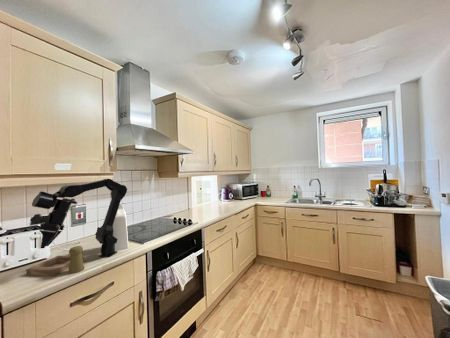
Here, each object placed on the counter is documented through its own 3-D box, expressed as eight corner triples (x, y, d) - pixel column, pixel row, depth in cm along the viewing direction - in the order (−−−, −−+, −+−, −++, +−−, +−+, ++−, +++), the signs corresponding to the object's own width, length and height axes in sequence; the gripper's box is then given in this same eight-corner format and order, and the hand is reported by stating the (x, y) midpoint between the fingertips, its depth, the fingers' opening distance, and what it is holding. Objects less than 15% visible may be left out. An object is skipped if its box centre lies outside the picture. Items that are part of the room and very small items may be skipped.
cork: (87, 267, 96) (86, 244, 96) (78, 273, 90) (77, 248, 90) (74, 267, 96) (74, 244, 96) (64, 274, 89) (64, 249, 90)
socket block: (58, 260, 105) (58, 255, 105) (83, 261, 103) (83, 256, 103) (26, 274, 90) (26, 269, 90) (54, 276, 88) (54, 270, 88)
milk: (128, 242, 129) (126, 202, 130) (127, 248, 119) (126, 204, 119) (106, 245, 124) (105, 204, 125) (104, 252, 114) (103, 206, 114)
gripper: (42, 208, 96) (26, 242, 91) (32, 206, 81) (12, 247, 75) (70, 213, 101) (56, 245, 96) (65, 212, 86) (49, 250, 81)
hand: (44, 247), depth 87 cm, fingers open, 9 cm apart
